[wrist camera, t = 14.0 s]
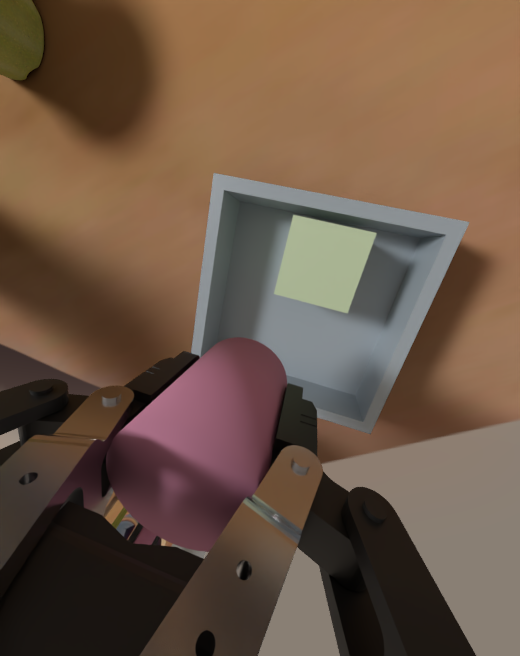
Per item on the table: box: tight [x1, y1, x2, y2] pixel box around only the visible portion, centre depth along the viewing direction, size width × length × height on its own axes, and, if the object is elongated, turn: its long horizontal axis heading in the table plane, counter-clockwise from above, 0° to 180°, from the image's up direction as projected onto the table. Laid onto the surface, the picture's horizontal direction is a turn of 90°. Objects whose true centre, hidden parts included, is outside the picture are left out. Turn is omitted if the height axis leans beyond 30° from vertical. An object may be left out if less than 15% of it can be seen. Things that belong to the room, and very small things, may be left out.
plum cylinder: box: [106, 337, 287, 552], centre depth 9 cm, size 4×4×6 cm
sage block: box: [274, 215, 377, 314], centre depth 16 cm, size 5×5×5 cm
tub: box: [191, 173, 469, 434], centre depth 18 cm, size 15×15×4 cm
